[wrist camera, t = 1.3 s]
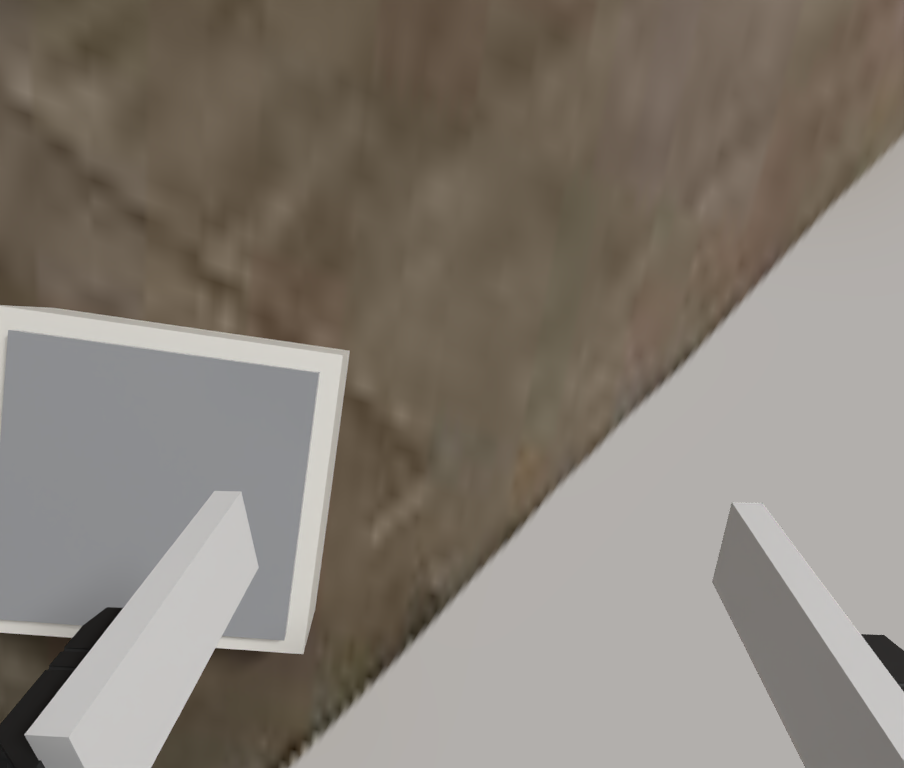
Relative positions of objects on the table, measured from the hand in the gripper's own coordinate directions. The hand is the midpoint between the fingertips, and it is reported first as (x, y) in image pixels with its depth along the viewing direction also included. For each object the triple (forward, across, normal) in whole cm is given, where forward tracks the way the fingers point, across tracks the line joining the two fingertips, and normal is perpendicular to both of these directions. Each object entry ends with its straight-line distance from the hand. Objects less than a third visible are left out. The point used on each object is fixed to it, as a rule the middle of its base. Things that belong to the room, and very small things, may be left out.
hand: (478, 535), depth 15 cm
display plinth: (+13, -17, -7) cm, 23 cm away
